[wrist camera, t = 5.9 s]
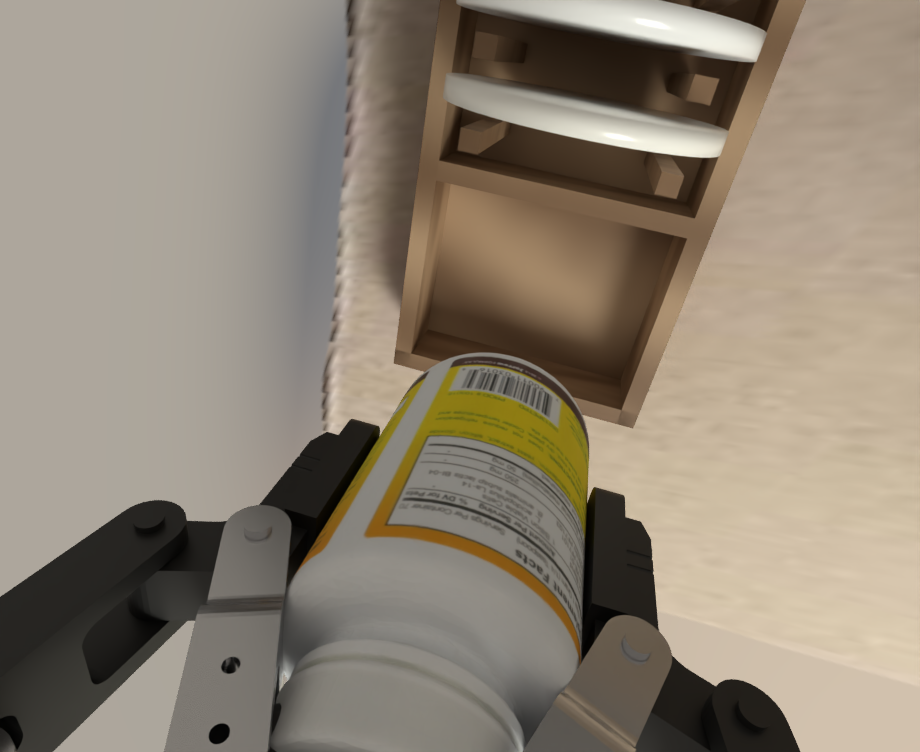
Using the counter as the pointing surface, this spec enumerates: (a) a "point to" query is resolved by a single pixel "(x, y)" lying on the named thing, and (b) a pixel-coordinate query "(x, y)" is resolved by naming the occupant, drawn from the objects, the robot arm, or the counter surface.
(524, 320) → the rack
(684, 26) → the plate
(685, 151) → the plate
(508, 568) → the supplement bottle
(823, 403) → the counter surface
